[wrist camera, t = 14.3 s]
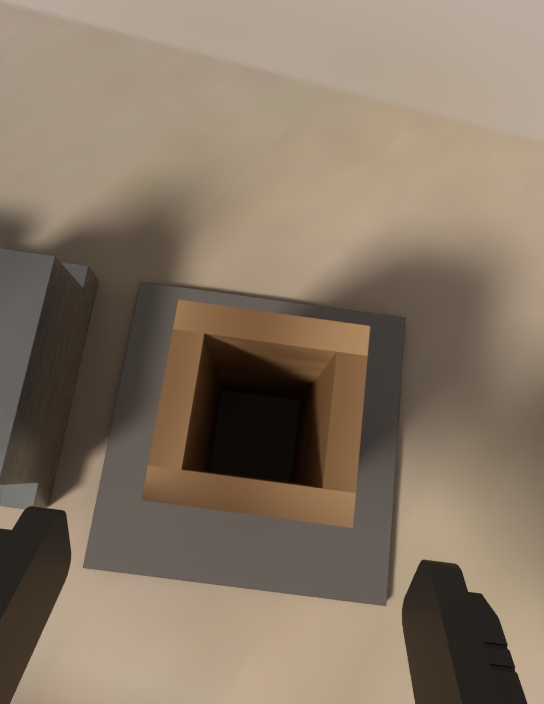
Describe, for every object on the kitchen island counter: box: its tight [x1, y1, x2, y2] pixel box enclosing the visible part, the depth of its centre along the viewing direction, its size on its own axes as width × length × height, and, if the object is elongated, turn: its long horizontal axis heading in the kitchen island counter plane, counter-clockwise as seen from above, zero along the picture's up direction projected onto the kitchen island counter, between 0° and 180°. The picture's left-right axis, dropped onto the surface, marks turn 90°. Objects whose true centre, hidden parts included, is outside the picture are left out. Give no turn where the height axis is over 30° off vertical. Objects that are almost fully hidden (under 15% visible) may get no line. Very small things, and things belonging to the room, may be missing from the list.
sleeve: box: [142, 299, 370, 528], centre depth 17 cm, size 5×5×9 cm
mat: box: [83, 282, 405, 606], centre depth 21 cm, size 12×12×1 cm
